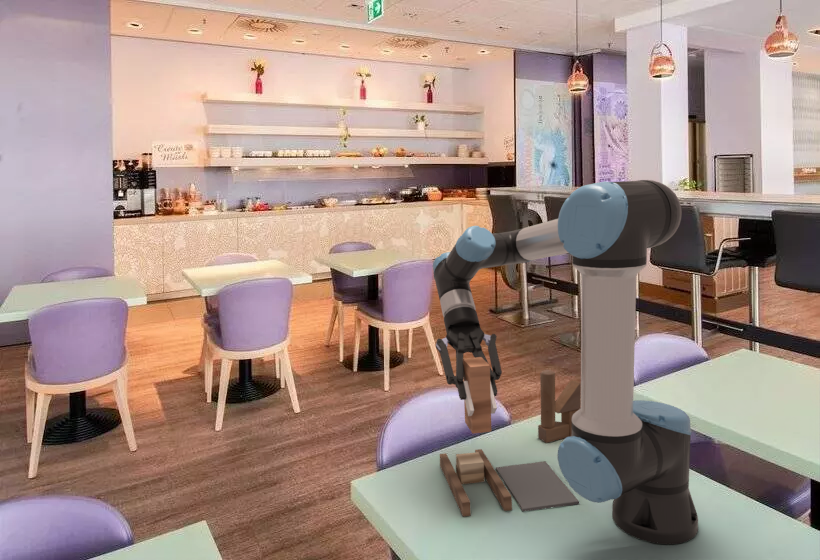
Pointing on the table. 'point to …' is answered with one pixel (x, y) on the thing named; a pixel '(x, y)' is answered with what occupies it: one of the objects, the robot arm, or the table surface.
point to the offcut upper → (469, 463)
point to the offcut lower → (470, 477)
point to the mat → (536, 486)
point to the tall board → (478, 394)
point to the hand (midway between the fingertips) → (482, 411)
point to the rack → (489, 475)
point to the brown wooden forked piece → (557, 407)
